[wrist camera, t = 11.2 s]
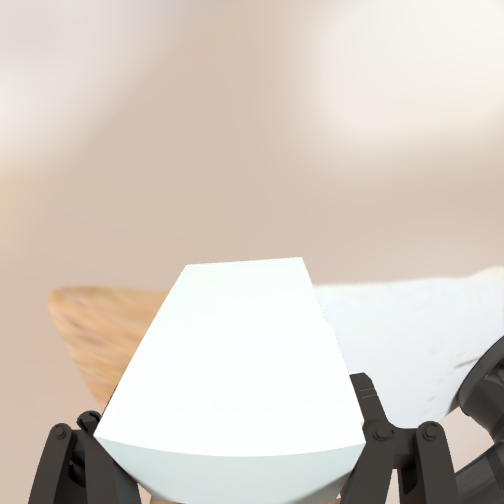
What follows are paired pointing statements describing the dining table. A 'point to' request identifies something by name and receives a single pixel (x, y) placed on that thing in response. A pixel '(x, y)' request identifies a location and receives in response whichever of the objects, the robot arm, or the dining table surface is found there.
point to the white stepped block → (236, 393)
